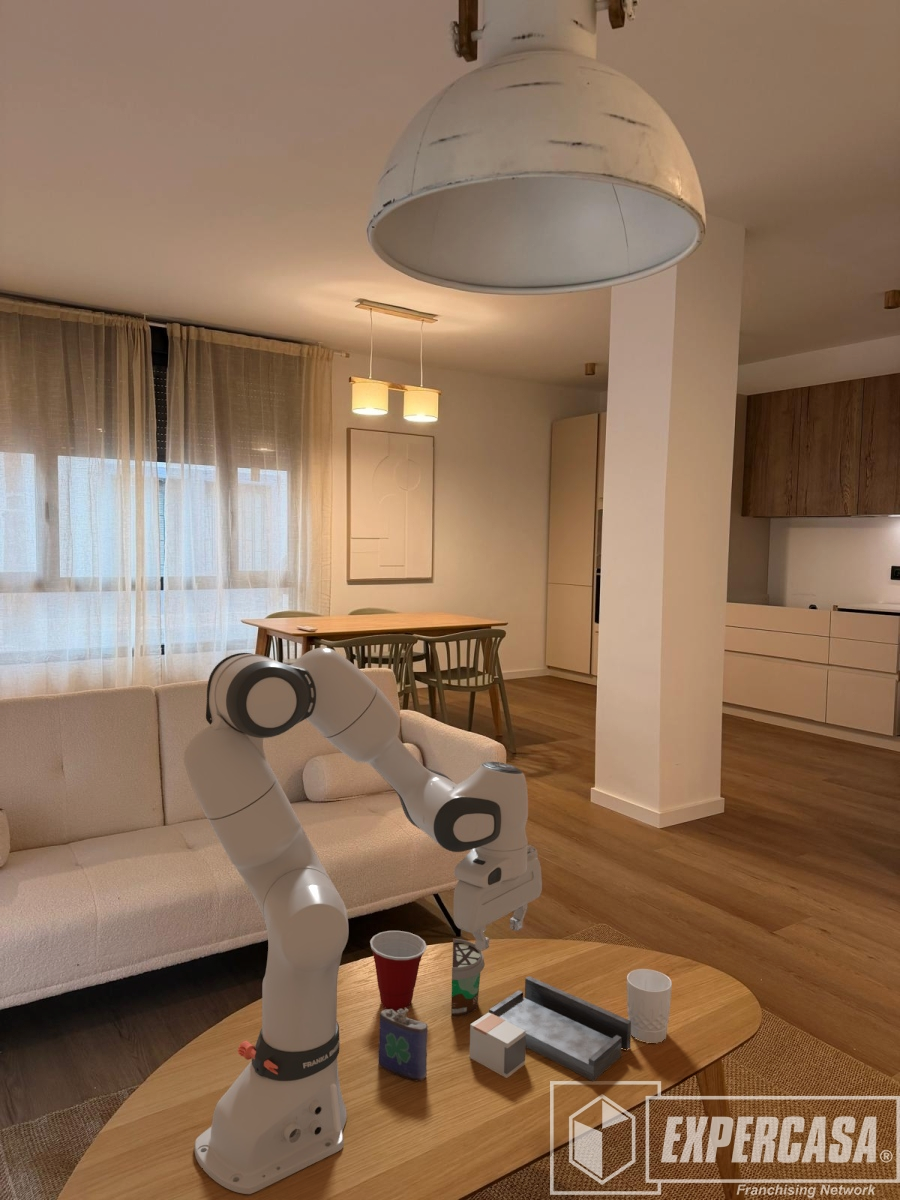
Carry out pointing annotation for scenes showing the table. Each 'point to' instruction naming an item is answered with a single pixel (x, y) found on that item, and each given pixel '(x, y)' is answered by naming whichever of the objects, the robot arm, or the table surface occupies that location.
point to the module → (497, 1044)
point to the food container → (465, 977)
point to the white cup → (648, 1004)
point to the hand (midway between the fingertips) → (499, 938)
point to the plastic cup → (397, 966)
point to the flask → (403, 1045)
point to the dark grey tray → (566, 1028)
